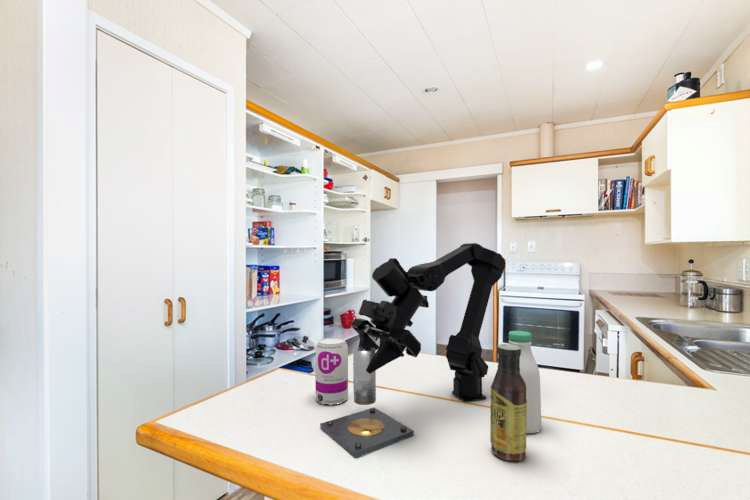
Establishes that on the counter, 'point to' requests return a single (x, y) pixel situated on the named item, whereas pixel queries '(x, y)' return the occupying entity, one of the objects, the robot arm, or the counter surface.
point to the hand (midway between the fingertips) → (361, 369)
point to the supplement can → (331, 370)
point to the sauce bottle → (508, 406)
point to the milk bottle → (529, 379)
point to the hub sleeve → (363, 376)
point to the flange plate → (366, 431)
